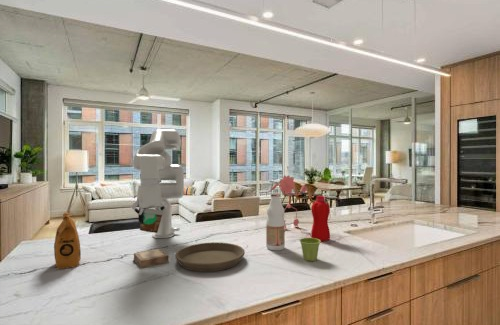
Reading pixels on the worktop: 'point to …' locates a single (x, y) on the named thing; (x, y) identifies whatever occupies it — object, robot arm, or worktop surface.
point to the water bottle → (320, 219)
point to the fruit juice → (275, 224)
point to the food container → (151, 220)
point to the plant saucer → (210, 256)
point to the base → (151, 258)
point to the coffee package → (67, 244)
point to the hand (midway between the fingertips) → (149, 221)
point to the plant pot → (310, 248)
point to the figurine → (287, 186)
